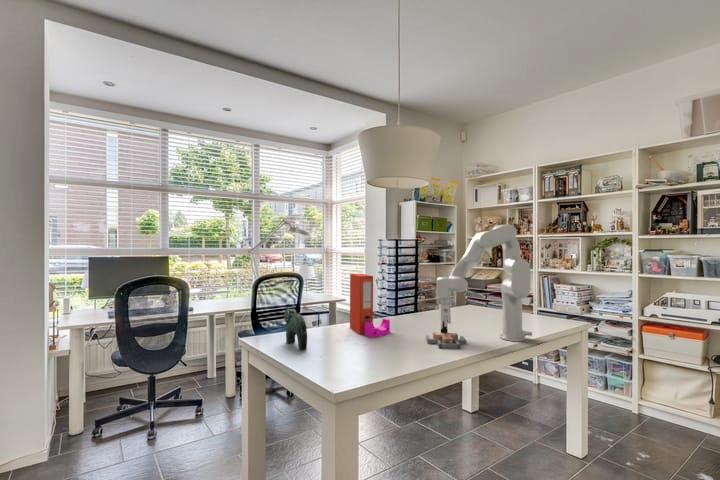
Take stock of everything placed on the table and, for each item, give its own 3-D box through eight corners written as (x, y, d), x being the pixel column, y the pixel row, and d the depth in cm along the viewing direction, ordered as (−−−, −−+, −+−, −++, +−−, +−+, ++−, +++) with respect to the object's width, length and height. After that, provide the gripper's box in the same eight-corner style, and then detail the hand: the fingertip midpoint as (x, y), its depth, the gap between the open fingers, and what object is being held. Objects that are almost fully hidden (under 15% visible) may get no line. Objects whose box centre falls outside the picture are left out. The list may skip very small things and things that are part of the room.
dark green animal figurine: (282, 342, 189) (282, 302, 189) (294, 340, 193) (294, 301, 193) (298, 351, 172) (298, 308, 172) (311, 349, 176) (311, 307, 176)
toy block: (372, 338, 197) (372, 323, 197) (364, 335, 202) (364, 321, 202) (392, 333, 206) (392, 320, 206) (385, 331, 211) (385, 318, 211)
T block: (456, 341, 190) (456, 333, 190) (461, 347, 178) (461, 339, 178) (432, 340, 191) (432, 332, 191) (435, 347, 179) (435, 338, 179)
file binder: (362, 326, 222) (362, 273, 222) (373, 333, 206) (373, 275, 206) (349, 328, 219) (349, 273, 219) (359, 334, 203) (359, 276, 203)
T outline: (462, 339, 192) (462, 335, 192) (470, 348, 175) (470, 344, 176) (425, 339, 193) (425, 335, 193) (429, 348, 177) (429, 344, 177)
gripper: (454, 303, 185) (454, 340, 185) (448, 298, 200) (448, 333, 200) (438, 303, 186) (439, 340, 186) (434, 298, 201) (434, 332, 201)
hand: (444, 336), depth 193 cm, fingers closed
